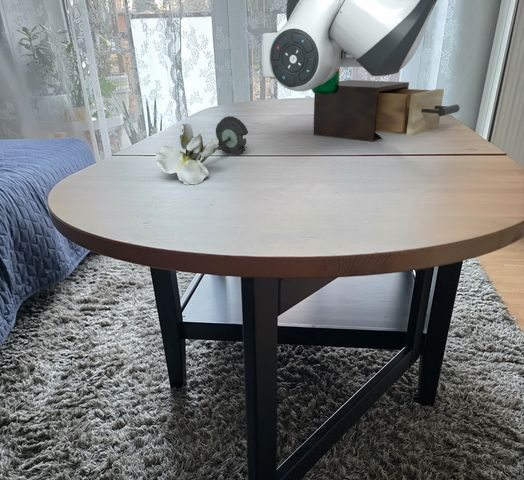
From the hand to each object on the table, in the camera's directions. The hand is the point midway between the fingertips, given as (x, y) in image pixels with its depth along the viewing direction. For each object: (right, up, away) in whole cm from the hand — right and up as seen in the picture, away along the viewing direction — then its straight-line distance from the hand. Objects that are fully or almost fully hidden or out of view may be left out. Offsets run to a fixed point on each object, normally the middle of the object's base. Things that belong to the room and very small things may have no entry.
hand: (327, 52), depth 92 cm
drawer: (+17, -11, +9) cm, 22 cm away
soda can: (0, -6, +3) cm, 7 cm away
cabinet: (+9, -8, +16) cm, 20 cm away
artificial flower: (-20, -25, -9) cm, 33 cm away
